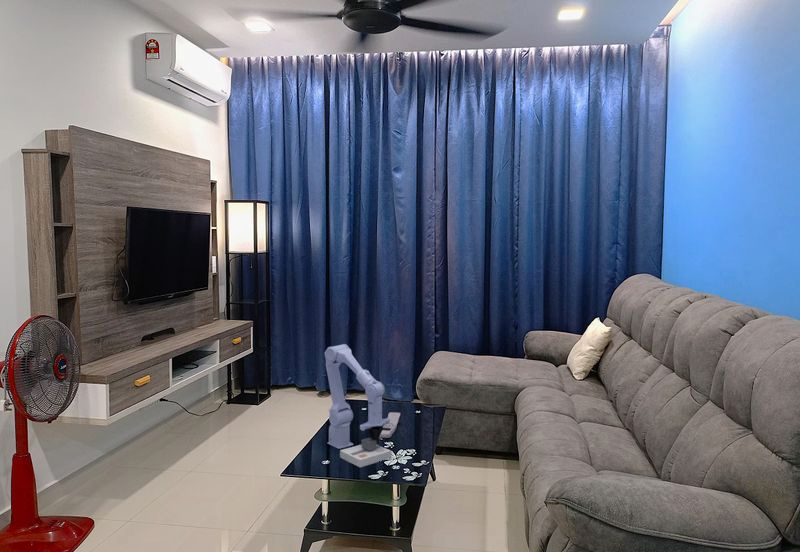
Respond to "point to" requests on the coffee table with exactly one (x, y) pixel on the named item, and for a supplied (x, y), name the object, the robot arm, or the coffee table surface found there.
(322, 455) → the coffee table surface
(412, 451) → the coffee table surface
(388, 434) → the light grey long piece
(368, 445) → the switch lever
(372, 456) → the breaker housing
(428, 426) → the coffee table surface
